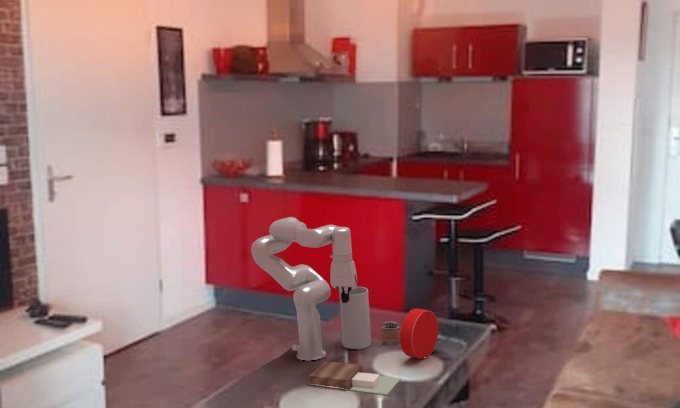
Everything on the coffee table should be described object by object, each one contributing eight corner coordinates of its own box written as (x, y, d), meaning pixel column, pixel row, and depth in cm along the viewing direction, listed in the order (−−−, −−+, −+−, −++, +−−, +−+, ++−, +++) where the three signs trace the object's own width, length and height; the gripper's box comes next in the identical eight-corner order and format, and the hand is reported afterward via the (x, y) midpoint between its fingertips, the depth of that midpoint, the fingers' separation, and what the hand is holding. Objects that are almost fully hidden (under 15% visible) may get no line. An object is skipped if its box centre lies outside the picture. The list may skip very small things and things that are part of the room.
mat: (350, 390, 277) (349, 389, 277) (365, 375, 291) (365, 374, 291) (387, 395, 271) (387, 394, 271) (400, 379, 285) (400, 378, 285)
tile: (351, 385, 281) (351, 379, 280) (358, 378, 287) (358, 372, 287) (374, 387, 277) (373, 381, 277) (380, 380, 284) (379, 374, 283)
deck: (309, 385, 285) (309, 375, 284) (326, 370, 298) (325, 361, 297) (347, 390, 278) (346, 380, 277) (362, 374, 291) (362, 365, 291)
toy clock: (427, 347, 316) (425, 302, 313) (439, 350, 312) (437, 304, 309) (401, 363, 301) (398, 316, 298) (413, 365, 297) (410, 318, 294)
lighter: (400, 341, 325) (399, 320, 323) (400, 344, 321) (399, 322, 320) (382, 342, 326) (381, 320, 324) (382, 345, 322) (381, 323, 321)
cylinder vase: (371, 339, 329) (368, 286, 325) (370, 350, 317) (367, 294, 313) (344, 340, 331) (340, 287, 327) (341, 350, 318) (337, 295, 314)
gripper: (321, 259, 294) (324, 303, 297) (356, 261, 288) (358, 306, 291) (329, 255, 301) (332, 298, 304) (363, 256, 294) (366, 300, 297)
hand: (345, 302), depth 297 cm, fingers closed
